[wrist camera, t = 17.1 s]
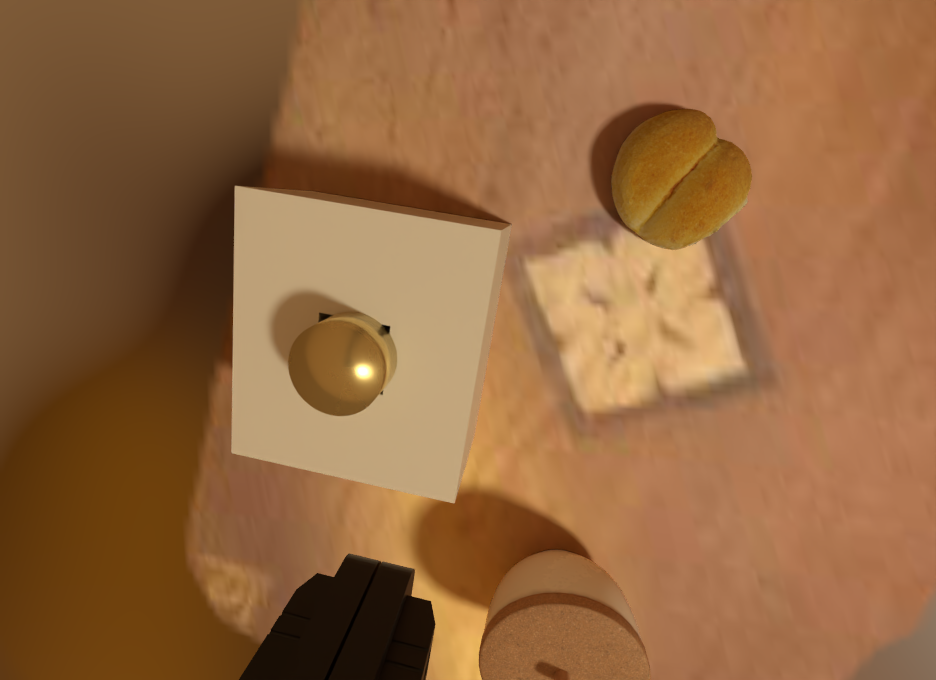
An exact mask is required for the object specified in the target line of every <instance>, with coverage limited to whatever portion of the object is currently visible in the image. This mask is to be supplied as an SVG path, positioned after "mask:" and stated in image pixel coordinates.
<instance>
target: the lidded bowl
mask: <svg viewBox="0 0 936 680" xmlns="http://www.w3.org/2000/svg"><path fill="white" fill-rule="evenodd" d="M479 668H480V674H481V677H482V680H650V679H651V676H650V666H649V661H648V658H647V654H646V651H645V647H644V645H643V643H642V640H641V637H640V633H639V630H638V626H637V623H636V619H635V617H634V614H633V612H632V609H631V607H630V605H629V603H628V601H627V599H626V597H625V595H624V594H623V592H622V590H621V589H620V587H619V586H618V585H617V583H616V582H615V581H614V580H613V578H612V577H611V576H610V575H609V574H608V573H607V572H606V571H605V570H604V569H602V568H601V567H600V566H598V565H597V564H596V563H594V562H593V561H591V560H589V559H587V558H585V557H583V556H580V555H578V554H575V553H572V552H569V551H565V550H546V551H542V552H539V553H536V554H533V555H530V556H528V557H526V558H524V559H523V560H521V561H520V562H518V563H517V564H516V565H514V566H513V567H512V568H511V569H510V570H509V571H508V572H507V573H506V575H505V576H504V577H503V579H502V580H501V582H500V583H499V584H498V587H497V589H496V591H495V593H494V596H493V598H492V600H491V603H490V606H489V610H488V614H487V618H486V623H485V629H484V633H483V636H482V640H481V645H480V651H479Z"/></svg>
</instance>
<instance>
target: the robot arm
mask: <svg viewBox="0 0 936 680" xmlns="http://www.w3.org/2000/svg"><path fill="white" fill-rule="evenodd" d="M414 573H415V570H414V569H412V568H407V567H403V566H399V565H395V564H391V563H387V562H382V563H381V561H378V560H374V559H370V558H366V557H361V556H357V555H353V554H348V555H347V556H346V557H345V559H344V560H343V562H342V564H341V566H340V568H339V569H338V571H337V573H336V575H335V577H331V576H327V575H323V574H319V573H317V574H316V575H315V576H313V577H312V578H311V579H309V580H308V581H307V582H306V583H304V584H303V585H302V586H300V587H299V588H298V589H297V590H296V591H295V593H294V594H293V596H292V597H291V599H290V601H289V602H288V604H287V605H286V607H285V608H284V610H283V612H282V615H281V616H279V618H278V619H277V621H276V622H275V624H274V626H273V627H272V629H271V632H270V634H268V635H267V636H266V638H265V640H264V641H263V643H262V644H261V646H260V647H259V649H258V651H257V652H256V654H255V655H254V657H253V658H252V660H251V662H250V663H249V665H248V666H247V668H246V670H245V671H244V673H243V674H242V676H241V677H240V679H239V680H426V675H427V670H428V664H429V658H430V652H431V646H432V641H433V635H434V629H435V620H434V615H433V609H432V604H431V601H428V600H424V599H420V598H416V597H412V596H411V594H412V587H413V581H414Z"/></svg>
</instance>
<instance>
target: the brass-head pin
mask: <svg viewBox="0 0 936 680" xmlns="http://www.w3.org/2000/svg"><path fill="white" fill-rule="evenodd" d="M396 367H397V351H396V347H395V344H394V341H393V339H392V337H391V335H390V326H387V325H382V324H381V323H379V322H378V321H377V320H375V319H374V318H372V317H370V316H368V315H366V314H363V313H359V312H341V313H338V314H335V315H333V316H330V317H329V318H327V319H325V320H323V321H321V322H319V323H317V324H315V325H313V326H311V327H309V328H308V329H306V330H305V331H303V332H302V333H301V334H300V335H299V336H298V337H297V338H296V339H295V341H294V343H293V344H292V347H291V349H290V353H289V358H288V369H289V375H290V379H291V381H292V384H293V386H294V388H295V389H296V391H297V392H298V394H299V395H300V396H301V398H302V399H303V400H304V401H305V402H306V403H308V404H309V405H310V406H311V407H313V408H314V409H316V410H318V411H320V412H323V413H325V414H329V415H333V416H349V415H353V414H356V413H359V412H361V411H363V410H364V409H366V408H367V407H368V406H369V405H370V404H371V403H372V402H373V401H374V400H375V399H376V398H377V396H378V395H379V394H380V393H381V392H382V391H383V389H384V388H385V387H386V386H387V385H388V384H389V382H390V381H391V380H392V378H393V376H394V374H395V371H396Z"/></svg>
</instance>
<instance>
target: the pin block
mask: <svg viewBox="0 0 936 680" xmlns="http://www.w3.org/2000/svg"><path fill="white" fill-rule="evenodd" d="M511 226H512V224H507V223H501V222H495V221H489V220H483V219H477V218H471V217H465V216H459V215H453V214H447V213H441V212H435V211H429V210H423V209H417V208H411V207H405V206H399V205H393V204H387V203H381V202H375V201H369V200H363V199H357V198H351V197H345V196H339V195H333V194H327V193H321V192H315V191H306V190H291V189H277V188H262V187H247V186H235V213H234V292H233V374H232V453H234V454H238V455H243V456H247V457H251V458H256V459H260V460H265V461H269V462H273V463H278V464H282V465H287V466H291V467H295V468H300V469H304V470H309V471H313V472H317V473H322V474H326V475H331V476H335V477H339V478H344V479H348V480H353V481H357V482H361V483H366V484H370V485H375V486H379V487H383V488H388V489H392V490H397V491H401V492H405V493H410V494H414V495H419V496H423V497H427V498H432V499H436V500H441V501H445V502H449V503H454V504H455V500H456V497H457V494H458V490H459V487H460V483H461V480H462V476H463V473H464V470H465V466H466V463H467V459H468V456H469V452H470V449H471V446H472V442H473V439H474V435H475V430H476V424H477V418H478V413H479V407H480V402H481V396H482V390H483V385H484V379H485V373H486V368H487V362H488V356H489V351H490V345H491V339H492V334H493V328H494V322H495V317H496V311H497V306H498V300H499V294H500V289H501V283H502V277H503V272H504V266H505V260H506V255H507V249H508V243H509V238H510V232H511ZM341 312H359V313H363V314H366V315H368V316H370V317H372V318H374V319H375V320H377V321H378V322H379V323H381V324H382V325H387V326H390V335H391V337H392V339H393V341H394V344H395V347H396V351H397V367H396V371H395V374H394V376H393V378H392V380H391V381H390V382H389V384H388V385H387V386H386V387H385V388H384V389H383V391H382V392H381V393H380V394H379V395H378V396H377V398H376V399H375V400H374V401H373V402H372V403H371V404H370V405H369V406H368V407H367V408H366V409H364V410H363V411H361V412H359V413H356V414H353V415H349V416H333V415H329V414H325V413H323V412H320V411H318V410H316V409H314V408H313V407H311V406H310V405H309V404H308V403H306V402H305V401H304V400H303V399H302V398H301V396H300V395H299V394H298V392H297V391H296V389H295V388H294V386H293V384H292V381H291V379H290V375H289V369H288V358H289V353H290V349H291V347H292V344H293V343H294V341H295V339H296V338H297V337H298V336H299V335H300V334H301V333H302V332H303V331H305V330H306V329H308V328H309V327H311V326H313V325H315V324H317V323H319V322H321V321H323V320H325V319H327V318H329V317H330V316H333V315H335V314H338V313H341Z"/></svg>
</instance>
